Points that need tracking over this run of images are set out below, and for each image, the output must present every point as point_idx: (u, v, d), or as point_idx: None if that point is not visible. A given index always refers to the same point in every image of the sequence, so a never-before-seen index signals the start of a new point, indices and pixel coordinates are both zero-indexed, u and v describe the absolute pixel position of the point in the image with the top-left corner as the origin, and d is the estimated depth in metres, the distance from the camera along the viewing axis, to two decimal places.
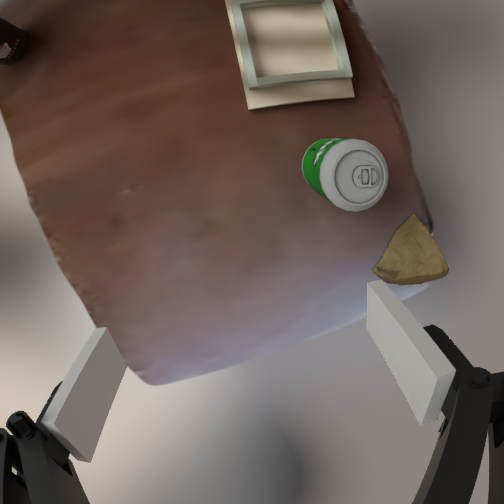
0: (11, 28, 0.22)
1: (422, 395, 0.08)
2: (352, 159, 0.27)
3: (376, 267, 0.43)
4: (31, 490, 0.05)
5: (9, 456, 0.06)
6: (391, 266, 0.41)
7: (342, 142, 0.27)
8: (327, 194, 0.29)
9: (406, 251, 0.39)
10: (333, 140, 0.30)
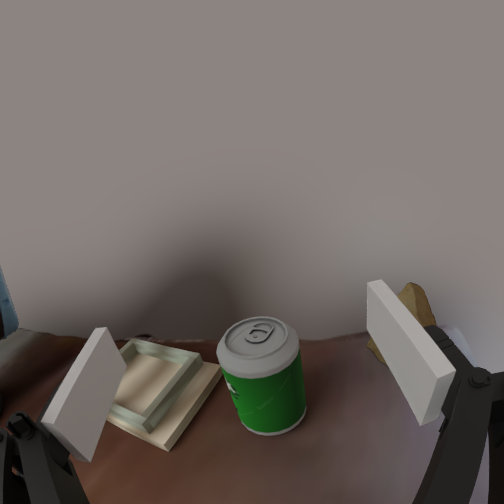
0: None
1: (422, 395, 0.08)
2: (235, 339, 0.26)
3: None
4: (31, 490, 0.05)
5: (9, 456, 0.06)
6: None
7: (218, 346, 0.27)
8: (257, 371, 0.23)
9: None
10: None
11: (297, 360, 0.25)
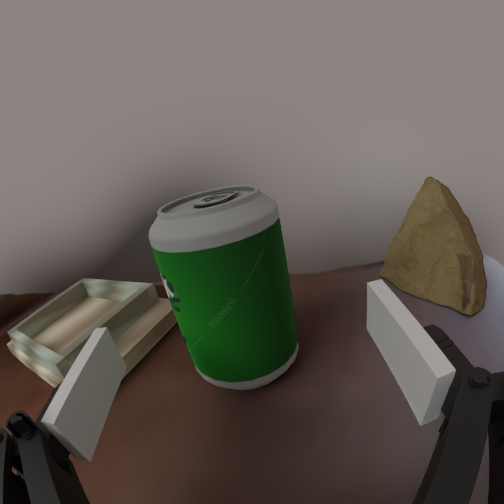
0: None
1: (422, 395, 0.08)
2: (179, 209, 0.17)
3: (463, 309, 0.19)
4: (31, 490, 0.05)
5: (9, 456, 0.06)
6: (455, 275, 0.20)
7: None
8: (202, 235, 0.13)
9: (425, 252, 0.22)
10: None
11: (275, 234, 0.16)
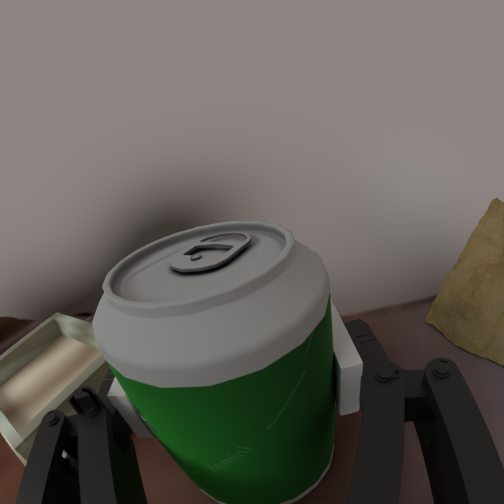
0: None
1: (337, 385, 0.10)
2: (146, 270, 0.09)
3: None
4: (83, 472, 0.06)
5: (62, 441, 0.07)
6: None
7: None
8: (180, 363, 0.06)
9: (491, 301, 0.14)
10: None
11: (326, 330, 0.08)
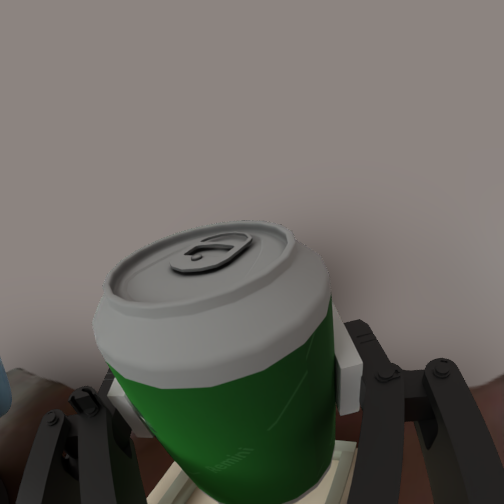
0: None
1: (337, 385, 0.10)
2: (146, 270, 0.09)
3: None
4: (83, 472, 0.06)
5: (62, 441, 0.07)
6: None
7: None
8: (181, 364, 0.06)
9: None
10: None
11: (327, 331, 0.08)
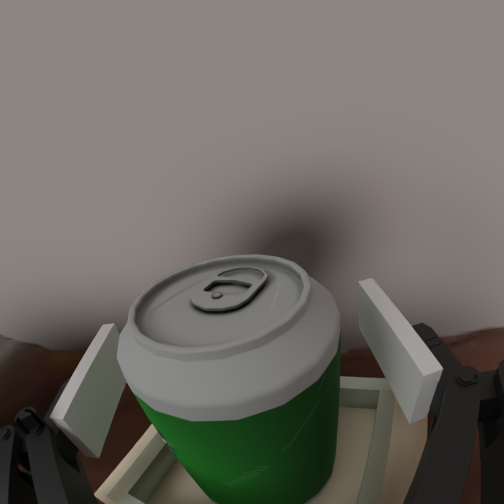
0: None
1: (410, 393, 0.08)
2: (167, 304, 0.10)
3: None
4: (38, 487, 0.05)
5: (16, 453, 0.06)
6: None
7: None
8: (212, 402, 0.06)
9: None
10: None
11: (336, 364, 0.08)
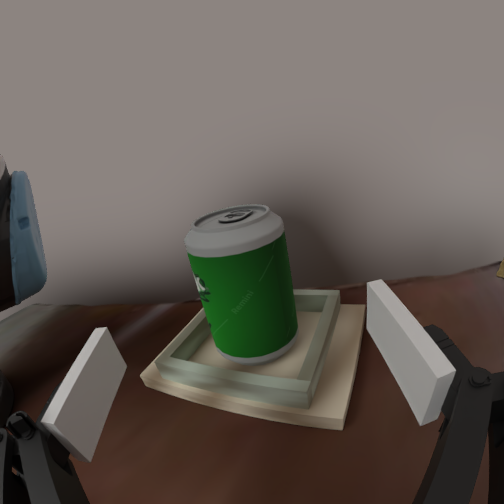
0: None
1: (422, 395, 0.08)
2: (207, 223, 0.22)
3: None
4: (31, 490, 0.05)
5: (10, 456, 0.06)
6: None
7: None
8: (230, 245, 0.19)
9: None
10: None
11: (281, 243, 0.21)
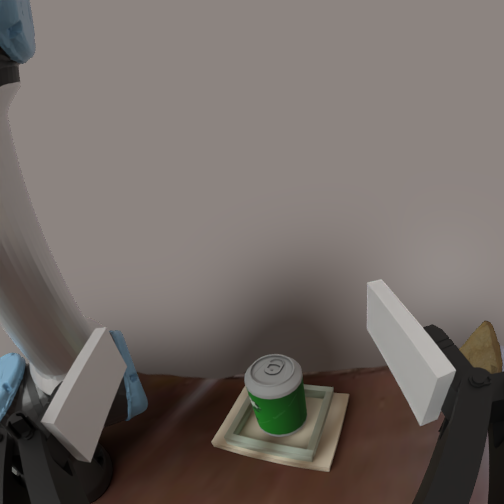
0: None
1: (422, 395, 0.08)
2: (257, 371, 0.36)
3: None
4: (31, 490, 0.05)
5: (9, 455, 0.06)
6: None
7: None
8: (275, 394, 0.33)
9: (476, 362, 0.36)
10: None
11: (301, 385, 0.35)
